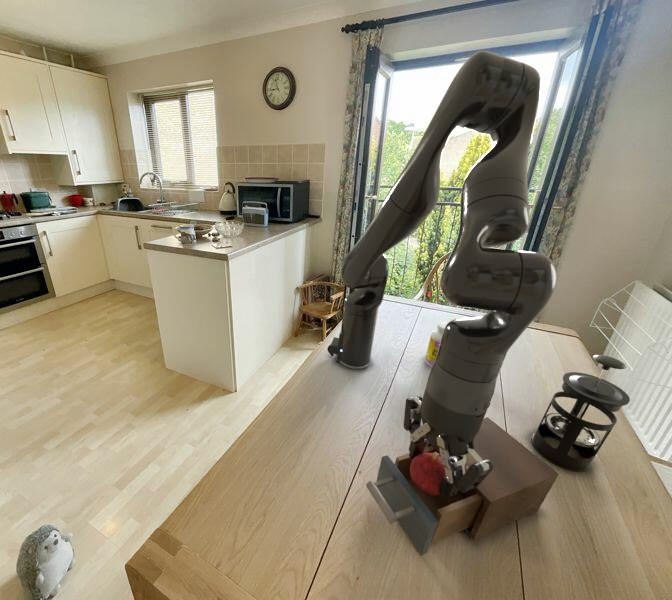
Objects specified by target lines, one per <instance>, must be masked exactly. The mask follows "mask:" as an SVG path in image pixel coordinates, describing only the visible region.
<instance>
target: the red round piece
mask: <svg viewBox="0 0 672 600" xmlns="http://www.w3.org/2000/svg"><path fill="white" fill-rule="evenodd" d="M410 474H411V478H412V480H413V482H414V484H415V485H416V486H417V487H418V488H419V489H420V490H421V491H422V492H424V493H426V494H428V495H432V496H436V495H440V493H439V489H440V486H441V483H442V481H443V478H444V477H445V468H444V466H443V465H442V464H441V458H440V457H439V454H438V453H437V452H435V453H421V454H419V455H417V456H416V457H415V458H414V459H413V460H412V462H411V465H410Z"/></svg>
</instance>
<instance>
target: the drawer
mask: <svg viewBox="0 0 672 600" xmlns="http://www.w3.org/2000/svg"><path fill="white" fill-rule="evenodd" d="M435 452H437V453H438V454H439V457H440V453H439V452H438V451H437V450H436V449H435V448H434V447H433V445H432V446H429V447H426V448H425V449H424V452H423V453H435ZM409 454H410V452H408V453H405V454H402V455H399V456H396V458H395V461H394V462H393V460H392V459H391V458H390V456H389V455H388V454H387V455H384V456H381V459H380V463H379V468H378V472H377V477H376V481H373V480H369V481H368V482H366V484H365V487H366V488H367V490H368V492H369V493H370V495H371V496H372V498H373V500H374V501H375V503H376V504H377V506H378V508H379V509H380V511H381V512H382V514H383V516H384V518H385V519H386V521H387V522H388V523H389V525H394V524H395V523H396V522H398V524H399V526H400V527H401V528H402V530H403V531H404V533H405V534H406V535H407V538H408V539H409V540H410V542H411V544H412V545H413V546H414V548H415V549H416V551H417V552H418V554H419V556H424V555H426V554H428V552H429V549H430V545H431V544H434V543H436V542H439V541H441V540H443V539H446V538H447V537H448V538H449V537H450V536H453V535H455V534H457V533H459V532H462V531H465V530H464V529H466V528H468V527H471V526H473V525H474V523H475V521H476V519H477V517H478V515H479V512H480V510H481V508H482V506H483V504H484V500H483V498H482V497H481V496H480V495H479V494H478V493H477V492H476V491H475V490H474V489H471V490H468V491H467V492H464V493H462V492H460V491H459V489H458V491H457V494H455V495H452V496H450V497H446V496H444V497H442V496H441V494H440V495H436V496H432V495H428V494H426V493H424V492H422V491H421V490H420V489H419V488H418V487H417V486H416V485H415V484H414V482H413V480H412V478H411V474H410V465H411V462H412V459H411V458H410V457H409ZM454 471H456V470H455V469H454Z"/></svg>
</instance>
